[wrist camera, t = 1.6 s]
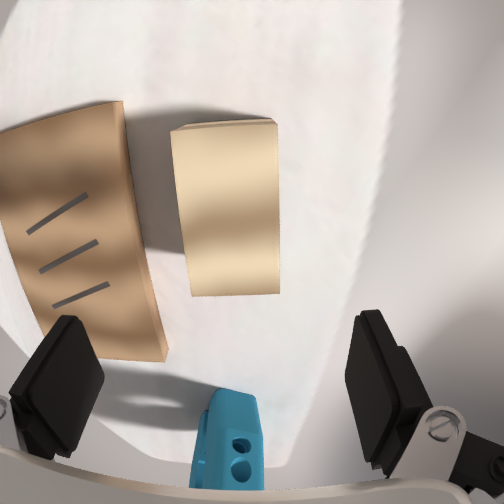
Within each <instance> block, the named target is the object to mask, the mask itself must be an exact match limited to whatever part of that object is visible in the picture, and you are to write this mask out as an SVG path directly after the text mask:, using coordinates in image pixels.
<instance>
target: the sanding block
mask: <svg viewBox="0 0 504 504" xmlns="http://www.w3.org/2000/svg"><path fill="white" fill-rule="evenodd" d="M170 136H171V146H172V156H173V166H174V175H175V184H176V192H177V200H178V208H179V216H180V223H181V231H182V238H183V245H184V251H185V258H186V265H187V271H188V277H189V283H190V289H191V295H192V297H193V296H233V295H262V294H280V220H279V163H278V126H277V123H276V122H275V121H274V120H273V119H271V118H266V119H241V120H224V121H210V122H198V123H189V124H186V125H184V126H182V127H179V128H177V129H175V130H172V131H170Z"/></svg>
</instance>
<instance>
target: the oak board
mask: <svg viewBox="0 0 504 504" xmlns="http://www.w3.org/2000/svg"><path fill="white" fill-rule="evenodd" d="M0 220H1V223H2V227H3V230H4V234H5V237H6V240H7V244H8V247H9V250H10V253H11V256H12V259H13V262H14V264H15V267H16V270H17V273H18V275H19V278H20V281H21V283H22V286H23V288H24V291H25V293H26V296H27V298H28V301H29V303H30V305H31V308H32V310H33V312H34V315H35V317H36V319H37V321H38V323H39V326H40V328H41V330H42V332H43V334H44V336H46V335H47V334H48V332H49V331H50V329H51V328H52V327H53V325H54V324H55V322H56V321H57V320H58V318H59V317H60V316H61V315H75V316H77V317H78V318H79V320H81V321H82V323H83V325H84V327H85V330H86V332H87V335H88V337H89V340H90V342H91V345H92V347H93V349H94V352H95V354H96V356H97V358H102V359H114V360H128V361H145V362H165V360H166V357H167V353H168V349H169V348H168V345H167V341H166V337H165V334H164V330H163V326H162V322H161V319H160V315H159V311H158V307H157V303H156V299H155V294H154V290H153V286H152V281H151V277H150V273H149V268H148V263H147V259H146V254H145V249H144V244H143V239H142V234H141V229H140V223H139V218H138V212H137V206H136V200H135V194H134V188H133V181H132V175H131V168H130V161H129V153H128V145H127V137H126V128H125V118H124V108H123V101H118V102H110V103H105V104H101V105H96V106H92V107H88V108H83V109H79V110H75V111H71V112H68V113H64V114H60V115H57V116H53V117H50V118H46V119H43V120H40V121H36V122H33V123H30V124H27V125H24V126H21V127H18V128H15V129H12V130H9V131H6V132H4V133H1V134H0Z"/></svg>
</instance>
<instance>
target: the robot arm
mask: <svg viewBox="0 0 504 504" xmlns="http://www.w3.org/2000/svg"><path fill="white" fill-rule="evenodd" d="M103 382H104V372H103V370H102V368H101V365H100V363H99V361H98V359H97V356H96V354H95V352H94V349H93V347H92V345H91V342H90V340H89V337H88V335H87V332H86V330H85V327H84V325H83V323H82V321H81V320H79V318H78V317H77V316H75V315H61V316H60V317H59V318H58V320H57V321H56V322H55V324H54V325H53V327H52V328H51V329H50V331H49V332H48V334H47V335H46V336H45V338H44V339H43V341H42V342H41V343H40V345H39V346H38V348H37V349H36V351H35V352H34V354H33V355H32V357H31V358H30V360H29V361H28V363H27V364H26V366H25V367H24V369H23V370H22V372H21V373H20V375H19V377H18V378H17V380H16V381H15V383H14V384H13V386H12V387H11V389H10V391H9V394H10V395H11V399H10V400H9V399H8V398H7V397H5V396H2V395H0V504H504V446H501V445H499V444H496V443H494V442H491V441H488V440H486V439H484V438H482V437H479V436H476V435H474V434H472V433H469V432H467V431H466V423H465V420H464V418H463V417H462V415H461V414H460V413H459V412H458V411H457V410H455V409H453V408H451V407H447V406H436V407H433V405H432V403H431V401H430V398H429V396H428V394H427V392H426V390H425V388H424V385H423V383H422V381H421V379H420V377H419V375H418V373H417V371H416V369H415V367H414V365H413V363H412V361H411V359H410V357H409V355H408V353H407V351H406V349H405V348H404V347H403V346H397V343H396V341H395V340H394V337H393V335H392V333H391V331H390V330H389V327H388V325H387V324H386V322H385V320H384V318H383V316H382V314H381V312H380V310H378V309H376V310H364V311H361V313H360V315H358V316H356V317H355V321H354V327H353V333H352V339H351V344H350V349H349V355H348V360H347V365H346V370H345V383H346V387H347V390H348V394H349V398H350V402H351V406H352V409H353V413H354V417H355V421H356V425H357V429H358V433H359V437H360V442H361V446H362V450H363V454H364V458H365V461H366V462H371V466H372V470H374V469H380V468H382V470H383V474H384V475H386V477H385V479H381V480H373V481H366V482H358V483H350V484H342V485H334V486H325V487H315V488H302V489H287V490H261V491H236V490H210V489H195V488H184V487H174V486H165V485H158V484H150V483H144V482H138V481H132V480H127V479H121V478H116V477H111V476H107V475H102V474H98V473H93V472H89V471H85V470H81V469H77V468H74V467H70V466H67V465H63V464H60V463H56V462H55V459H54V455H55V453H56V454H57V455H59V456H62V457H66V458H70V456H71V453H72V452H73V451H75V450H76V448H77V445H78V443H79V440H80V437H81V435H82V432H83V430H84V427H85V425H86V422H87V420H88V417H89V415H90V413H91V410H92V408H93V406H94V403H95V401H96V399H97V396H98V394H99V392H100V389H101V387H102V385H103Z"/></svg>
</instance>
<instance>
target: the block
mask: <svg viewBox="0 0 504 504" xmlns="http://www.w3.org/2000/svg"><path fill="white" fill-rule="evenodd" d="M189 488H195V489H210V490H236V491H261V490H264V458H263V435H262V430H261V424H260V419H259V413H258V408H257V402H256V398H255V397H254V396H252V395H249V394H245V393H240V392H236V391H233V390H229V389H224V388H221V389H218V390H216V391H215V393H214V395H213V397H212V398H211V400H210V404H209V411H204V413H203V415H202V416H201V418H200V423H199V429H198V434H197V439H196V445H195V450H194V455H193V461H192V467H191V475H190V483H189Z"/></svg>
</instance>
